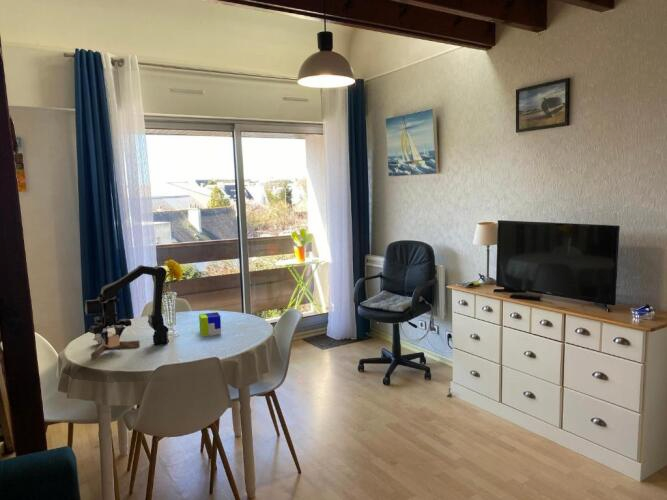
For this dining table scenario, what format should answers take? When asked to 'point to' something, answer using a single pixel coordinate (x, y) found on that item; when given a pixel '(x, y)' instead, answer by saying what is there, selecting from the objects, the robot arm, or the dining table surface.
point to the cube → (112, 340)
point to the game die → (100, 337)
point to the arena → (122, 345)
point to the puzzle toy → (210, 324)
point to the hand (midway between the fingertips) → (111, 343)
